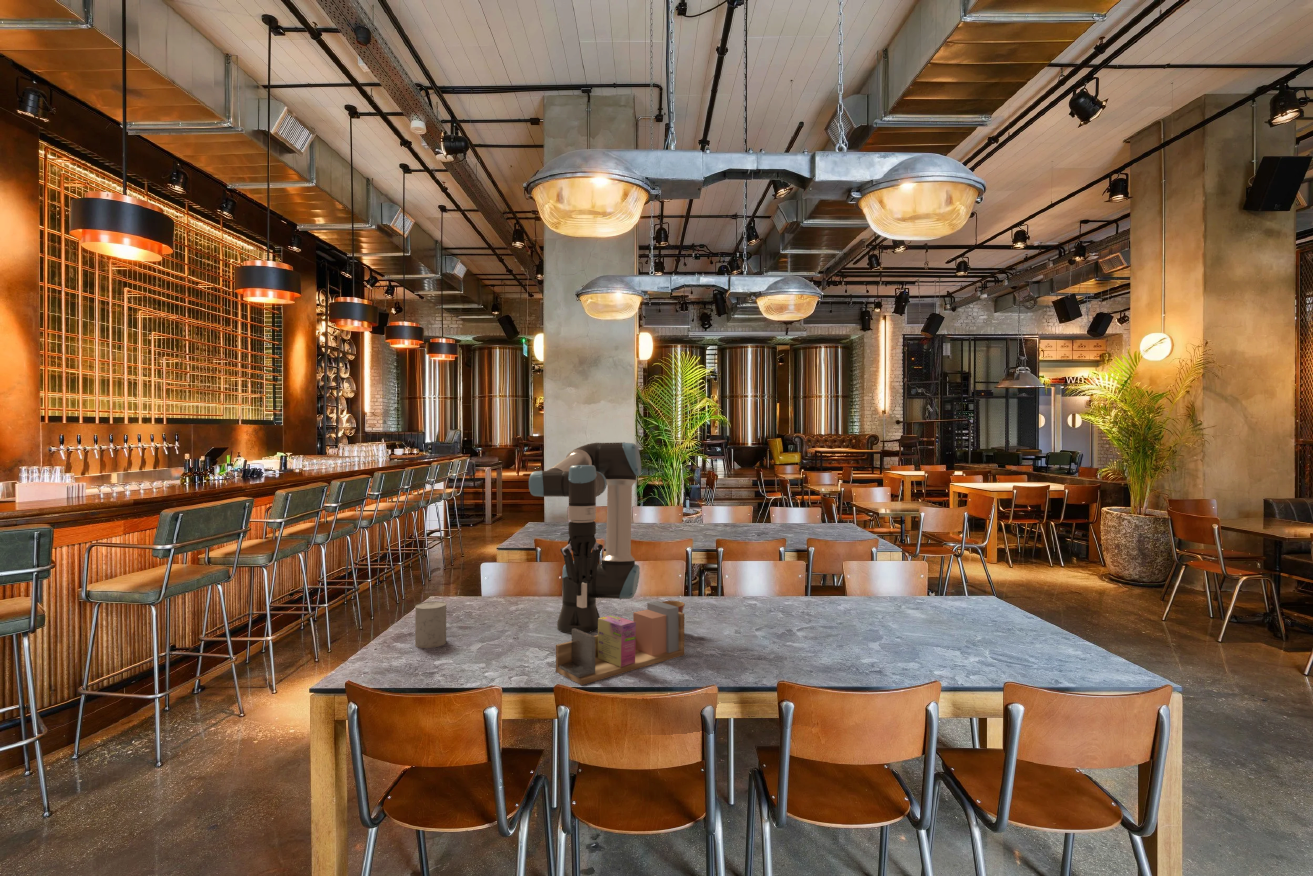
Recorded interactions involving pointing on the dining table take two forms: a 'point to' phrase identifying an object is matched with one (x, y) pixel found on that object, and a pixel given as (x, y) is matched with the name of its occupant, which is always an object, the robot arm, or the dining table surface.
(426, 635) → the grey stone cylinder
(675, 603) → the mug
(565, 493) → the robot arm
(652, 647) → the row books
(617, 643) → the box
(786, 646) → the dining table surface
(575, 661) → the bookend
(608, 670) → the wooden desk organizer
